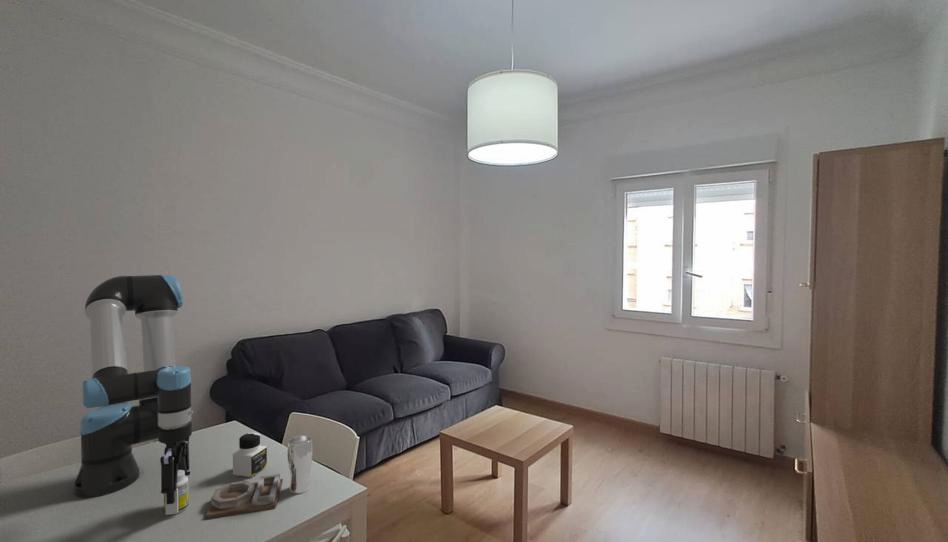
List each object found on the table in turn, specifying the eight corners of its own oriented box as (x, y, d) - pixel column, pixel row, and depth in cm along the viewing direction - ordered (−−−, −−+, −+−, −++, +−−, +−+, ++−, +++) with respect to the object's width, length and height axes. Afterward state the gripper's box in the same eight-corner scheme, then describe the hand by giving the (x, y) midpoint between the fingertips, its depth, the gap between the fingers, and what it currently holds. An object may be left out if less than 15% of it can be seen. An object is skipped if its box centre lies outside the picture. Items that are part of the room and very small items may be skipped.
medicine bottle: (251, 478, 132) (251, 440, 131) (232, 475, 133) (231, 438, 133) (267, 467, 139) (267, 431, 138) (248, 464, 140) (248, 429, 140)
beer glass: (283, 488, 126) (283, 439, 126) (306, 479, 131) (306, 432, 131) (293, 497, 121) (293, 447, 121) (316, 488, 127) (316, 439, 126)
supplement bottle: (160, 511, 114) (159, 474, 114) (183, 501, 119) (182, 466, 119) (169, 518, 111) (168, 480, 111) (192, 507, 116) (192, 471, 116)
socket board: (220, 490, 125) (220, 480, 125) (282, 481, 130) (282, 472, 130) (205, 518, 111) (205, 508, 111) (275, 508, 116) (275, 497, 116)
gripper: (178, 436, 107) (179, 525, 108) (201, 410, 124) (203, 486, 125) (143, 440, 104) (145, 530, 105) (172, 413, 122) (173, 490, 123)
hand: (176, 506), depth 115 cm, fingers closed on supplement bottle, 6 cm apart
